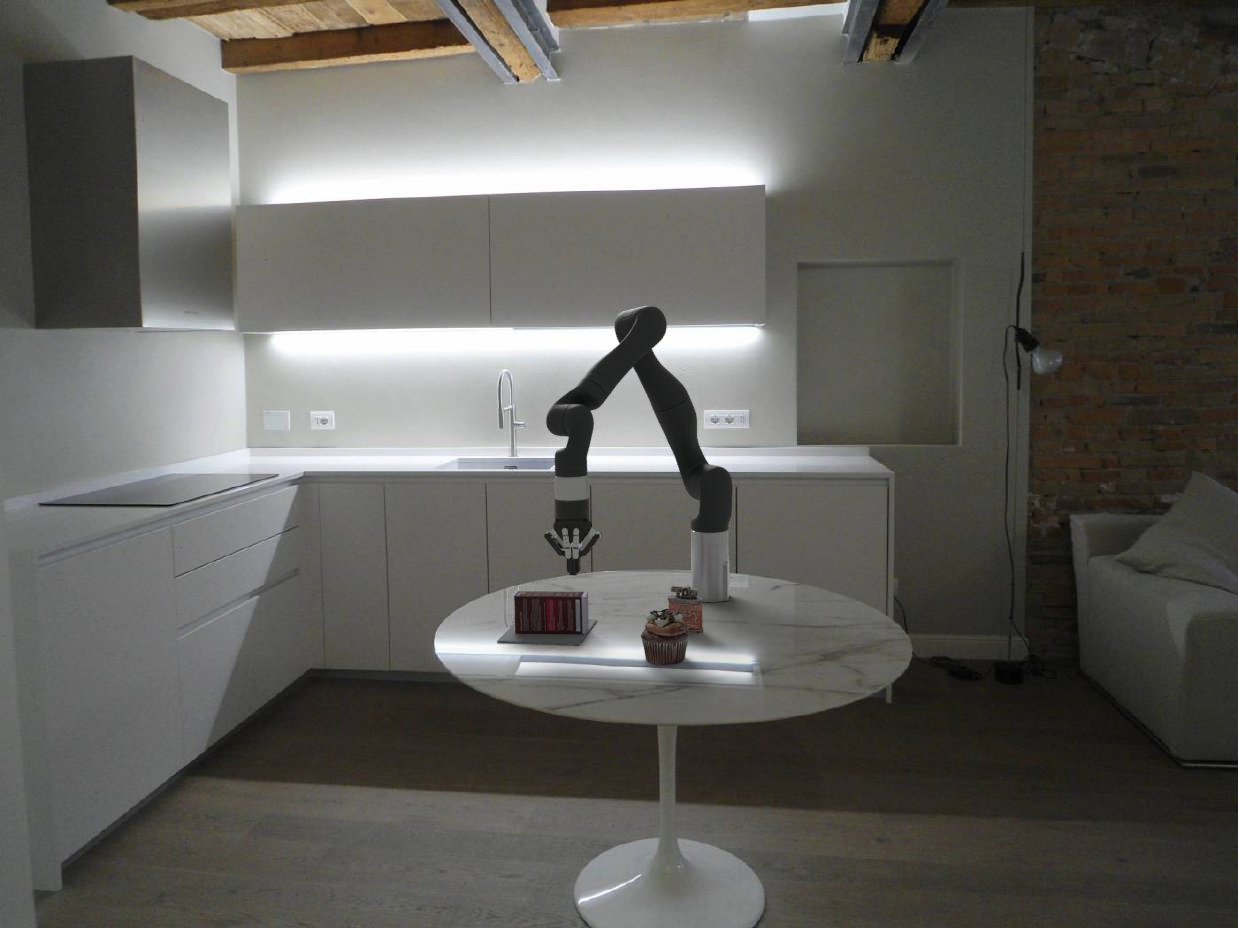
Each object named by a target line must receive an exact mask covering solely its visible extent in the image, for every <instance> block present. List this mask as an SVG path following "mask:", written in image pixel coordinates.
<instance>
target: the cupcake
mask: <svg viewBox="0 0 1238 928" xmlns="http://www.w3.org/2000/svg"><path fill="white" fill-rule="evenodd" d="M659 613H660V614H659ZM645 619H646V621H647V622H646V623H645V625H644V630H643V631H642V632H641V634H640V639H641V642H642V646H643V652H644V657H645V660H646V662H649V663H651V664H655V665H659V666H670V665H671V666H673V665H676V664H680V663H683V662H684V661H685V658H686V652H687V647H688V643H689V636H690V635H689V634H688V632H687V630H686V625H685V624H684V623H683V621H682V615H681V614H678V613H672V612H671V613H670V610H669V608H665V609H662V610H651V611H650V612H649V614H646V616H645Z"/></svg>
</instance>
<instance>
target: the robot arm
mask: <svg viewBox="0 0 1238 928" xmlns="http://www.w3.org/2000/svg"><path fill="white" fill-rule="evenodd" d="M667 325H668V323H667V318H666V316H665V314H664V312H662V310H661V309H660V308H659V307H656V306H653V305H644V306H638V307H635V308H631V309H626V310H624V311H621V312H619V313H618V315H617V316H616V318H615V320H614V325H613V326H614V327H613V328H614V333H615V337H616V340H617V342H618V343H619V344H617V345H616V346H615V347H614V348H613V349H612V350H610V351H608V353H607V354H605V355H604V356H602V357H601V358H600V359H599V360H598V361H596V362H595V363H594V364H593V365H591V367H590V368H589V369H588V370H587V371H586V373H584V375H583V376H582V377H581V379H580V380H579V382H578V383H577V385H576V386H575V387H573V388H571V389H570V390H569V391H567V392H566V393H565V394H564V395H563V396H561V397H560V398H559V399H558V400H556V401H555V402H554V403H553V404H552V405H551V407H550V408H549V410H548V411H547V414H546V417H545V422H546V423H545V424H546V428H547V429H548V432H549V433H551V434H553V435H554V436H557V437H567V438H568V439H567V443H566V446H565V447H562V448H559V449H557V450H556V451H555V454H554V488H553V497H554V523H553V525H552V528H551V529H550V530H549V531H546V532H545V533H544V534H543V537H544V539H545V540H546V541H547V542H548V544H549V545H550V546H551V547H552V549H553V550H554V551H555V552H556V554H557V555H558V556H562V557H564V558H566V559H565V560H566V572H567V573H569V576H577V575H579V573H580V572H581V569H582V561H581V560H582V557H586V556H587V555H588V554H589V553H590V551H591V550H592V549H593V548H594V546H595V545H596V543H597V542H598V541H599V539H601V537H602V534H603V533H602V532H600V531H597V530H596V529H594V527H593V524H592V521H591V518H590V512H591V511H590V485H589V478H588V477H589V476H588V453H589V450H590V446H591V442H592V436H593V433H594V429H595V421H594V420H595V419H594V415H593V412H592V411H595V410H598V409H599V408H600V407H602V406H603V404H604V403H605V401H606V400H607V399H608V398H609V397H610V395H611V394H612V393H613V391H614V390H615V388H616V387H617V386H618V384H619V383H621V382H622V380H623V379H624V377H625V376H626V375H627V374H628V373H629V371H631V370H632V369H633V370H634V372H635V373H636V375H637V377H638V379H639V382H640V384H641V386H642V388H643V390H644V392H645V394H646V396H647V398H648V400H649V401H648V402H649V404H650V406H651V408H652V411H653V413H654V415H655V417H656V420H657V422H658V424H659V425H660V428H661V430H662V431H663V434H664V436H665V438H666V439H665V440H666V441H667V443H668V445H669V447H670V449H671V451H672V454H673V457H674V458H675V461H676V465H677V468H678V472H679V473H680V477H681V480H682V483H683V486H684V488H685V491H686V492H687V493H688V495H689V496H690V497H692V498H693V499H695V500H696V501H699V509H698V510H699V511H698V514H697V515H695V516H693V517H692V518H691V520H690V561H691V563H690V565H691V566H690V567H691V569H690V570H691V588H695V589H698V594H697V597H700V598H703V603H707V602H708V603H716V602H728V601H729V598H730V594H731V593H730V556H729V553H730V552H729V549H730V548H729V525H730V524H729V523H730V520H731V519H732V514H733V513H732V512H733V495H734V494H733V490H734V489H733V478H732V476H731V474H730V472H729V471H728V470H727V469H726V468H725V467H722V466H720V465H714V464H710V463H709V461H708V460H707V459H706V457H705V455H704V453H703V451H702V449H701V445H700V444H699V443H700V442H699V439H698V416H697V412H696V409H695V406H694V403H693V402H692V399H691V397H690V395H689V392H688V390H687V388H686V387H685V385H684V384H683V383H682V382H681V381H680V380H679V379H678V378H677V377H676V376H675V375H674V374H673V373H672V372H671V371H669V370H668V369H667V368H666V367H665V366H664V365H663V364H662V363H661V362H660V361H659V359H658V357H657V356H656V355H655V352H654V350H653V349H654V347H656V346H657V345H658V344H659V343H661V341H662V340H663V338H664V337H665V335H666V332H667V328H668V327H667ZM588 535H589V536H588ZM557 536H558V537H559V539H560V540H561V541H562V542H563V544H562V543H561V542H560V541H559V540H558V539H557ZM587 536H588V539H589V542H587V544H586V545H585V546H584V548H583V549H582V546H583V541H584V540H585V539H586V538H587Z"/></svg>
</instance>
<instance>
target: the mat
mask: <svg viewBox="0 0 1238 928" xmlns="http://www.w3.org/2000/svg"><path fill="white" fill-rule="evenodd" d="M596 621H597V622H598V619H597V618H596V619H595V618H594V619H593V618H591V619H589V629H588V631H587V633H586V634H525V633H516V634H515V623H514V624H512V625H511V626H510V627H509V628H508V629H507V630H506V631H505V632H504V633H503V635H501V636H500V637H499V638H498V639H497V640H496V643H497V642H501V644H502V643H503V642H504V643H503V644H527V645H528V644H529V645H553V646H554V645H555V646H580V645H581V644H582V643H583V641H584V640H585V639H586V638H587V635H589V633H590V631H592V629H593V628H594V626H595V625H596V623H597V622H596ZM591 628H592V629H591Z"/></svg>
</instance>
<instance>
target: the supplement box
mask: <svg viewBox="0 0 1238 928" xmlns="http://www.w3.org/2000/svg"><path fill="white" fill-rule="evenodd" d="M513 601H514V602H513V603H514V609H513V610H514V624H515V634H516V633H525V634H586V633H587V631H588V629H589V592H588V591H548V590H547V591H543V590H542V591H540V590H539V591H536V590H533V591H532V590H531V591H530V590H529V591H527V590H526V591H524V590H523V591H521V590H519V591H517V592H516V593H515V595H513Z"/></svg>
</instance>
